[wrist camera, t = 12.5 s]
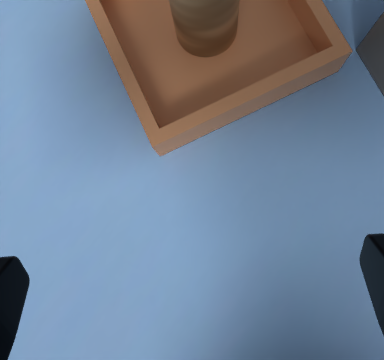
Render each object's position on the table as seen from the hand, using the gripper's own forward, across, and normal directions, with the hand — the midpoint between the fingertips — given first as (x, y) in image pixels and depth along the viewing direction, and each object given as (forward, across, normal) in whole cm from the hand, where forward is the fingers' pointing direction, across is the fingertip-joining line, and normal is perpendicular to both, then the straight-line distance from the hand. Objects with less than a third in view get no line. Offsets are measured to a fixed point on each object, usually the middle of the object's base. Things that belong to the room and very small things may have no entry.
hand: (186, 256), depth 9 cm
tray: (+18, -1, -2) cm, 18 cm away
